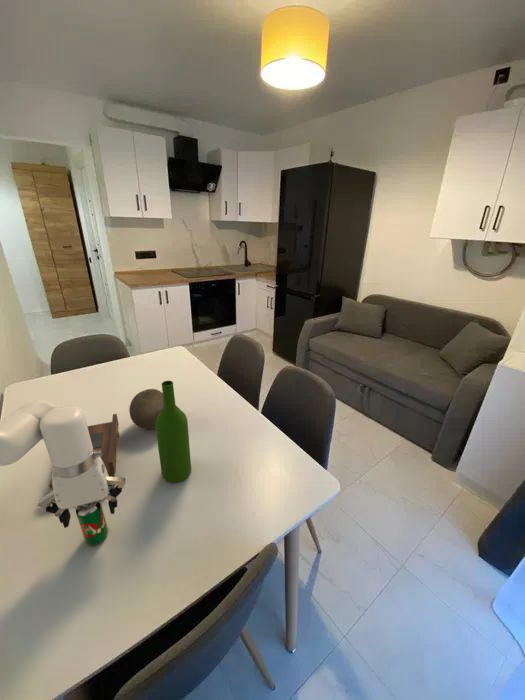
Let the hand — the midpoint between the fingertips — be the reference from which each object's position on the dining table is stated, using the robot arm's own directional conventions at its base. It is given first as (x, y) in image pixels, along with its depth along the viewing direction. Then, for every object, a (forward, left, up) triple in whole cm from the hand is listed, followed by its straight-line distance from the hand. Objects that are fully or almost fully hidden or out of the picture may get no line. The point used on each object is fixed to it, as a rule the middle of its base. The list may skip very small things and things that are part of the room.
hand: (91, 515), depth 69 cm
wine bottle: (+21, +14, -8) cm, 26 cm away
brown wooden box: (-4, +27, -8) cm, 28 cm away
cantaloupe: (+15, +40, -8) cm, 43 cm away
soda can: (0, 0, -8) cm, 8 cm away
